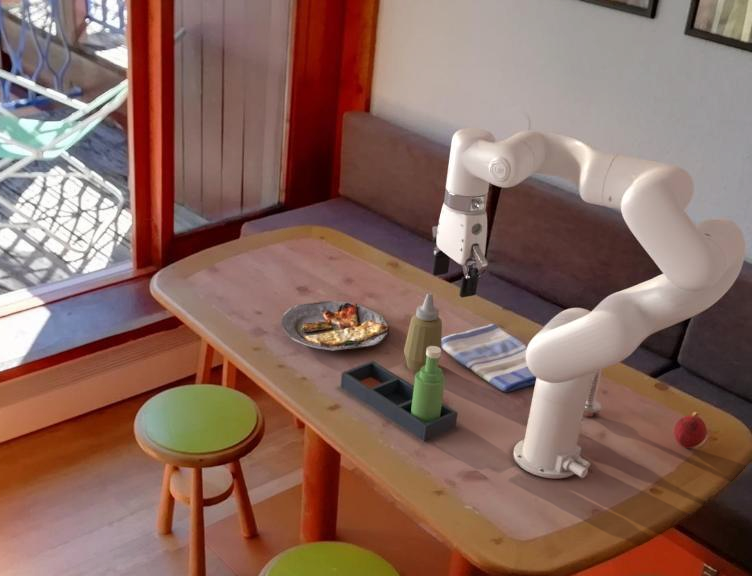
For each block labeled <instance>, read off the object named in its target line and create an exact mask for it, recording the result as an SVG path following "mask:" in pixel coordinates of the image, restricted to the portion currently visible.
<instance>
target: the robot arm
mask: <svg viewBox="0 0 752 576" xmlns="http://www.w3.org/2000/svg"><path fill="white" fill-rule="evenodd" d="M534 174H539V175H546V176H551V177H554V178H555V177H556V178H559V179H563V180H565V181H568V182H569V183H572V184H573V185H574V186H575V187H576V188H577V189H578V191H579V197H580V198H581V199H582V201H583V202H585V203H588V204H591V205H597V206H601V207H607V208H611V209H614V210H615V209H616V210H620V211H621V216H622V218H623V220H624V222H625V224H626V226H627V227H628V229H629V230H630V232H631V233H632V235H633V236H634V237H635V239H636V240H637V241H638V243H639V244H640V245H641V246H642V248H643V249H644V250H645V252H646V253H647V254H648V255H649V257H650V258H651V259H652V261H653V262H654V263H655V265H656V266H657V267H658V268H659V270H660V271H661V274H659V275H657V276H654V277H652V278H651V279H648V280H645V281H643V282H640V283H638V284H636V285H632V286H630V287H628V288H625V289H622V290H620V291H616V292H614V293H612V294H609V295H608V296H606V297H605V298H604V299H602V300H601V301H600V302H599V303H598V304H597V305H596V306H595V307H594V308H593V309H591V310H589V309H586V308H582V307H570V308H567V309H565V310H563V311H560V312H559V313H558V314H556V315H555V316H554V317H552V318H551V319H550V320H549V321H548V322H547V323H546V324H544V326H543V327H542V328H541V329H540V330H539V331H538V332H537V333H536V334H535V335H534V336H533V337H532V338H531V340H530V341H529V342H528V344H527V346H526V347H527V350H526V364H527V366H528V368H529V370H530V372H531V373H532V374H533V375H534V376H535V377H537V378H536V383H535V384H534V389H533V393H532V399H531V402H530V403H531V404H530V409H529V414H528V419H527V423H526V424H527V425H526V429H525V434H524V439H522V440H520V441H518V442H517V443H516V444H515V446H514V448H513V458H514V460H515V462H516V463H517V465H518V466H519V467H520V468H521V469H523V470H524V471H526V472H528V473H530V474H532V475H534V476H537V477H541V478H546V479H557V480H558V479H565V478H566V479H567V478H569V477H573V476H574V475H577V477H579V478H582V479H584V478H585V477H586V476H587V475H588V473H589V468H590V466H591V462H590V461H588V460H586V459H584V458H582V455H581V453H582V447H581V446H579V445H578V441H579V436H580V432H581V431H580V430H581V428H582V427H581V426H582V423H583V417H584V415H583V414H584V409H585V405H586V400H587V397H588V393H589V389H590V384H591V380H592V377H593V373H594V372H596V371H599V370H601V371H602V370H604V369H606V368H609V367H612V366H614V365H616V364H618V363H621V362H623V361H624V360H626V359H627V358H629V357H630V356H631V355H632V354H633V353H635V351H636V350H637V349H638V347H640V345H641V344H642V343H643V342H644V341H645V340H646V339H647V338H648V337H649V336H651V335H653V334H656V333H657V332H660V331H662V330H665V329H667V328H669V327H672V326H675V325H677V324H678V323H682V322H683V321H686V320H688V319H690V318H693V317H695V316H697V315H699V314H701V313H702V312H704V311H706V310H708V309H710V307H712V306H713V305H714V304H716V303H717V302H718V301H719V300H720V299H721V298H723V296H725V294H726V293H727V292H728V291H729V290H730V289H731V287H732V286H733V285H734V283H735V282H736V280H737V279H738V277H739V275H740V273H741V270H742V268H743V265H744V261H745V255H746V240H745V239H746V238H745V236H744V233H743V231H742V229H741V228H740V227H739V225H738V224H737V223H736V222H734V221H733V220H731V219H729V218H728V219H727V218H721V217H716V218H709V219H706V220H703V221H700V222H699V223H696V224H695V223H694V221H693V220H692V219H691V217H690V216H689V215H688V214H687V212H686V209H687V207H689V204H690V203H691V201H692V199H693V196H694V190H695V186H694V185H695V183H694V180H693V177H692V176H691V174H690V173H689V172H688V171H687V170H686V169H684V168H683V167H681V166H678V165H675V164H672V163H667V162H662V161H656V160H649V159H645V158H639V157H634V156H628V155H623V154H618V153H611V152H607V151H603V150H599V149H597V148H595V147H593V146H592V145H589V144H588V143H585V142H583V141H581V140H580V139H577V138H574V137H572V136H568V135H563V134H558V133H551V132H547V131H541V130H523V131H519V132H517V133H515V134H512V136H510V137H508V138H507V139H504V140H501V141H496V138H495V136H494V134H492V133H491V132H490V131H488V130H486V129H482V128H477V127H467V128H461V129H459V130H457V131H456V132H454V134H453V135H452V138H451V144H450V151H449V159H448V166H447V174H446V182H445V188H444V197H443V204H442V206H441V211H440V215H439V219H438V225H434V226H432V228H431V231H432V245H433V247H434V248H433V251H432V252H433V255H434V256H433V265H432V272H431V274H432V275H433V276H435V277H437V276H441V275H446V274H449V268H450V261H451V259H452V260H453V261H454V262H456V263H457V264H458V265H461V268H462V272H463V276H462V277H461V281H460V287H459V294H458V296H459V297H460V298H466V297H473V296H474V297H475V296H476V294H477V288H478V281H479V278H480V277H481V276H482V274H484V272H485V270H486V268H487V267H488V264H489V263H488V260H487V258H486V248H487V247H486V246H487V237H488V213H487V211H486V208H487V201H488V195H489V187H490V185H494V186H495V187H499V188H504V189H505V188H507V189H508V188H512V187H516V186H518V184H520V183H522V182H523V181H525V180H526V179H527V178H529V177H531V175H534ZM469 259H471V260H469ZM471 265H472V269H471V270H470V268H469V266H471Z"/></svg>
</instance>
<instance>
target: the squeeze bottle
mask: <svg viewBox="0 0 752 576" xmlns="http://www.w3.org/2000/svg"><path fill="white" fill-rule="evenodd" d="M439 313H440V310H439V308H438V307H437V306H435V303H434V295H433V292H427V293H426V295H425V298H424V301H423V304H421V305H419V306H417V307H416V313H415V314H414V315H413V316H412V317H411V318H410V322H409V327H408V332H407V336H406V339H405V344H404V348H403V353H404V357H405V362H406V366H407V368H408V369H409V370H410V371H412V372H415V373H417V372H419V371H420V369H421V367H423V366H425V365H426V358H427V355H426V350H427V347H429V346H437V347H439V348H440V349H441V350H442V348H441V341H442V338H443V335H442V333H443V332H442V331H443V330H442V329H443V321H442V319H441V318H440V317H439ZM441 356H442V355H441ZM441 356H440V357H439V360H440V359H441Z"/></svg>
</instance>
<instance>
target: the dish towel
mask: <svg viewBox="0 0 752 576" xmlns="http://www.w3.org/2000/svg"><path fill="white" fill-rule="evenodd" d="M527 347H528V346H527V345H525V343H524V342H522V341H521V340H520V339H518V338H516V337H515V336H513V335H511V334H509V333H507V332H506V331H505V330H503V329H501V328H500V327H499V326H498V324H496V323H490V324H488V325H484V326H479V327H476V328H472V329H468V330H466V331H461V332H458V333H452V334H448V335H446V336H444V337H442V341H441V350H443V351H444V352H445V353H447V354H448V355H449V356H451V357H452V358H454V360H456V362H458V363H460V364H461V365H463V366H464V367H466V368H467V369H469V370H470V371H471V372H473V373H474V374H475V375H477V376H478V377H480V378H481V379H483V380H484V381H486V382H488V383H489V384H490V385H492V386H493V387H495V388H496V389H498V390H500V391H501V392H504V393H508V392H512V391H515V390H518V389H522V388H526V387H530V386H533V385H534V386H535V383H536V378H537V377H535V376H534V375H533V374H532V373H531V372H530V370H529V368H528V366H527V364H526V350H527Z"/></svg>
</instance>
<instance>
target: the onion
mask: <svg viewBox="0 0 752 576" xmlns="http://www.w3.org/2000/svg"><path fill="white" fill-rule="evenodd" d="M699 416H700V414H699V412H697V411H693V413H691V415H686V416H684V417H681V418H680V419H679V420H678V421H677V422H676V424H675V426H674V427H673V434H674V438H675V440H676V441H677V443H678V444H679V445H680V446H682V447H683V448H686V449H688V448H694V447H697V446H699V445H701V444H702V443H703V442H704V441H705V439H706V437H707V426H706V424H705V422H704V420H703V419H702V418H701V417H699Z"/></svg>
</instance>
